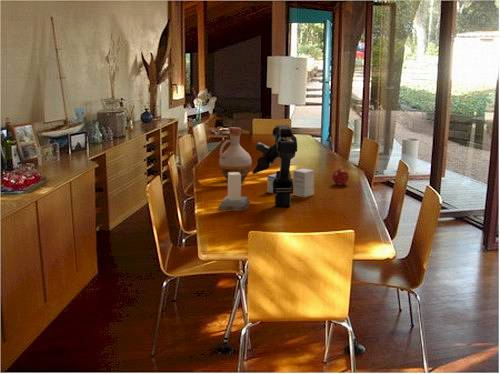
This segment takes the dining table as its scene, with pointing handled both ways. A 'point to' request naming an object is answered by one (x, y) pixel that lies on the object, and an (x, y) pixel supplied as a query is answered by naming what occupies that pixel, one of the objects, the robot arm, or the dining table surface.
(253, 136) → the dining table surface
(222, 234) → the dining table surface
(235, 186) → the ivory pillar block
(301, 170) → the supplement box
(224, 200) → the slate top slab
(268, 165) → the robot arm
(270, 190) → the medicine box
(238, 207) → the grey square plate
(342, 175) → the christmas ornament
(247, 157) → the jug
